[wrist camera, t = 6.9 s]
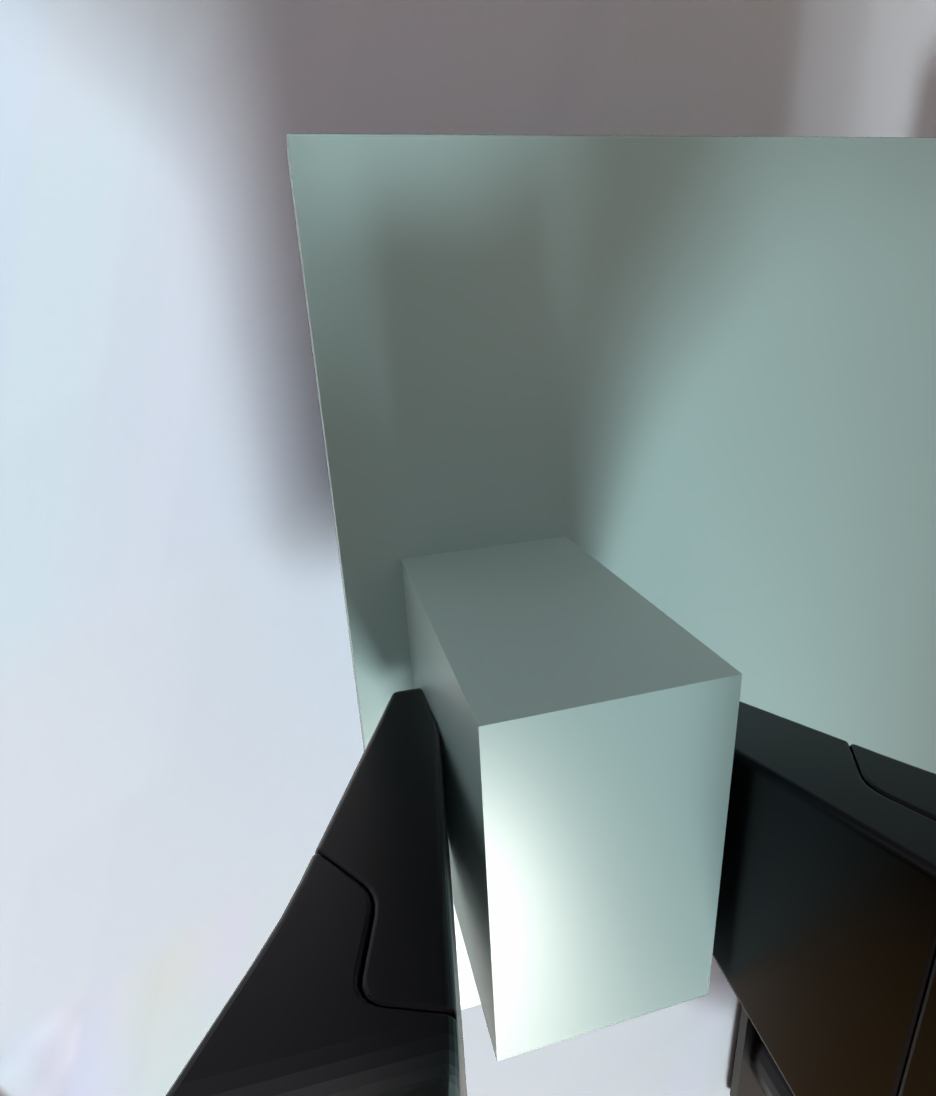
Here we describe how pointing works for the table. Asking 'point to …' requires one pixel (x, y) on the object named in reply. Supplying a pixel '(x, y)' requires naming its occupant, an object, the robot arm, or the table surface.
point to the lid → (622, 507)
